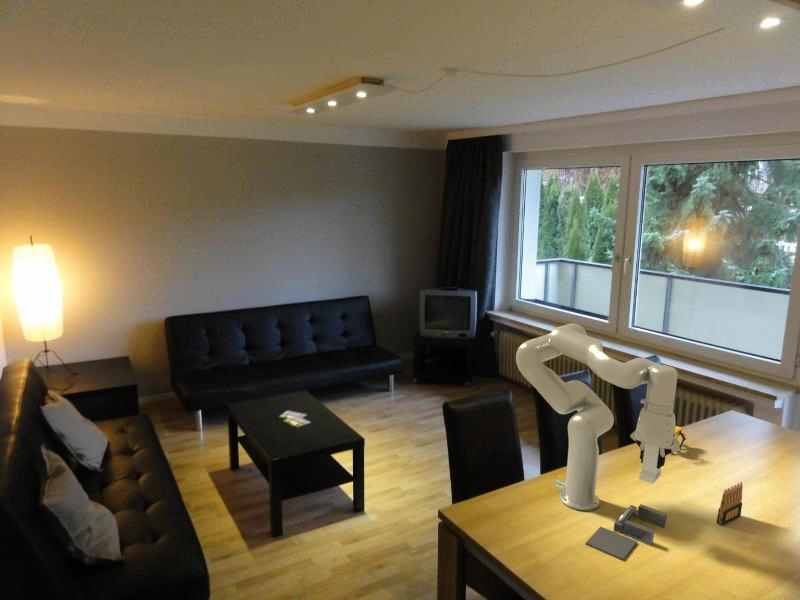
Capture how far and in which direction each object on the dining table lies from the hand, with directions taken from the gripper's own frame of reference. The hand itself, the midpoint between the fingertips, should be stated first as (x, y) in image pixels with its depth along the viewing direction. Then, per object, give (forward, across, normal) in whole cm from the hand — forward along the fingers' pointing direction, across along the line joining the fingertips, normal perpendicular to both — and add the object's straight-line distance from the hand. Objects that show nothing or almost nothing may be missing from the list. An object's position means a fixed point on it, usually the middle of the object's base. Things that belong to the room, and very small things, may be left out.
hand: (651, 463), depth 172 cm
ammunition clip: (+22, +18, +24) cm, 37 cm away
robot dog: (+22, -10, +62) cm, 67 cm away
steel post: (+4, 0, 0) cm, 4 cm away
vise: (+22, -1, 0) cm, 22 cm away
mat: (+22, -4, -14) cm, 26 cm away
